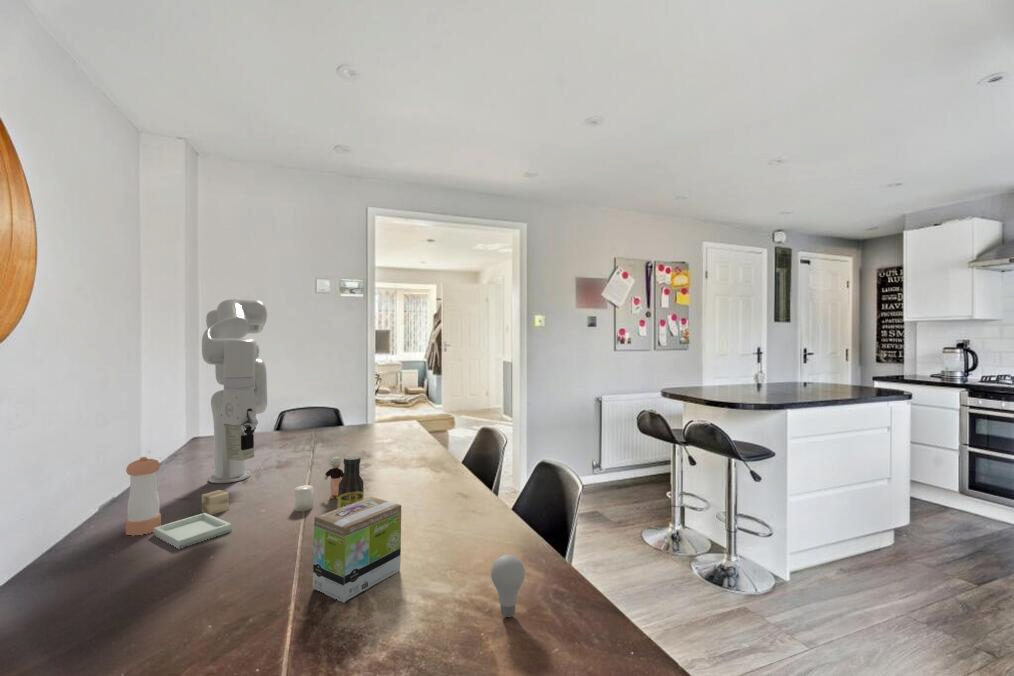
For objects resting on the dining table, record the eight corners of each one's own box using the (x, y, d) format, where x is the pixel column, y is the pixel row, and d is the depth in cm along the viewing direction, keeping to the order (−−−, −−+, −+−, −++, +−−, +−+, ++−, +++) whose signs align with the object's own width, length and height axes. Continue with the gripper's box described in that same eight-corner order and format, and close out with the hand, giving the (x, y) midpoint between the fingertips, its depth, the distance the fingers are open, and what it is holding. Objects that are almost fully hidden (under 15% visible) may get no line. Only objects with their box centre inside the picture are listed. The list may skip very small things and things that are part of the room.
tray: (153, 535, 118) (153, 527, 118) (205, 519, 128) (205, 512, 128) (178, 549, 110) (178, 541, 110) (231, 531, 120) (231, 523, 120)
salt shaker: (167, 527, 123) (166, 455, 123) (135, 538, 116) (135, 462, 116) (151, 522, 126) (150, 452, 126) (119, 533, 119) (119, 458, 119)
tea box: (345, 605, 88) (344, 527, 88) (311, 589, 93) (311, 516, 93) (402, 571, 100) (402, 502, 100) (370, 559, 106) (370, 494, 106)
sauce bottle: (338, 543, 114) (338, 462, 113) (335, 533, 119) (334, 456, 119) (365, 537, 117) (365, 459, 117) (361, 528, 122) (361, 453, 122)
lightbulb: (490, 607, 87) (490, 549, 87) (522, 606, 87) (522, 548, 87) (491, 628, 81) (491, 565, 81) (526, 626, 81) (526, 564, 81)
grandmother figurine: (350, 495, 147) (349, 455, 147) (344, 499, 144) (344, 458, 144) (326, 494, 148) (326, 455, 148) (320, 498, 144) (320, 458, 144)
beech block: (201, 511, 134) (201, 494, 134) (220, 506, 138) (220, 489, 138) (210, 515, 131) (210, 497, 131) (228, 509, 136) (228, 492, 136)
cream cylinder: (290, 509, 136) (290, 488, 136) (306, 504, 140) (306, 484, 140) (301, 512, 133) (301, 491, 133) (316, 507, 137) (316, 487, 137)
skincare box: (255, 457, 131) (254, 414, 131) (241, 461, 127) (241, 416, 127) (237, 455, 133) (237, 413, 133) (223, 459, 129) (223, 415, 129)
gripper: (208, 383, 131) (209, 446, 131) (243, 386, 122) (243, 454, 122) (236, 380, 137) (236, 441, 137) (270, 384, 128) (270, 448, 128)
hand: (239, 446), depth 130 cm, fingers closed on skincare box, 6 cm apart
